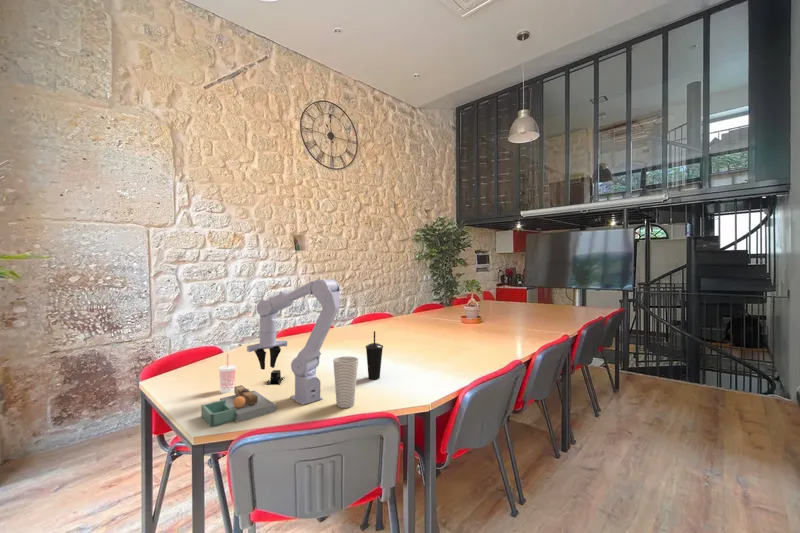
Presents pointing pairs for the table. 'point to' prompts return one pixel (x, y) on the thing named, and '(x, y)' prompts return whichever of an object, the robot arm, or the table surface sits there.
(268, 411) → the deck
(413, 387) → the table surface
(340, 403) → the cup
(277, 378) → the black blocky device
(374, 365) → the drinking cup
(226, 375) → the beverage cup
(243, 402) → the ball
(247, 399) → the lever
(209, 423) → the teal dish
